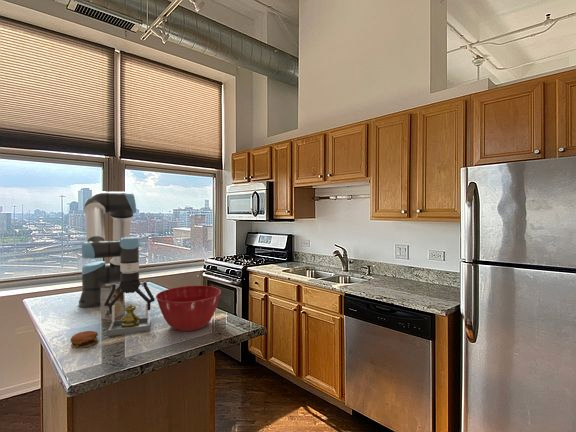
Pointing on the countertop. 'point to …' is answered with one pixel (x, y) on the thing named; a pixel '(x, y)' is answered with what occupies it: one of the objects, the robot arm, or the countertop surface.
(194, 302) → the mixing bowl
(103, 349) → the countertop surface
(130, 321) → the brass door knob
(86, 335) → the burger
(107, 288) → the coffee box
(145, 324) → the tray
